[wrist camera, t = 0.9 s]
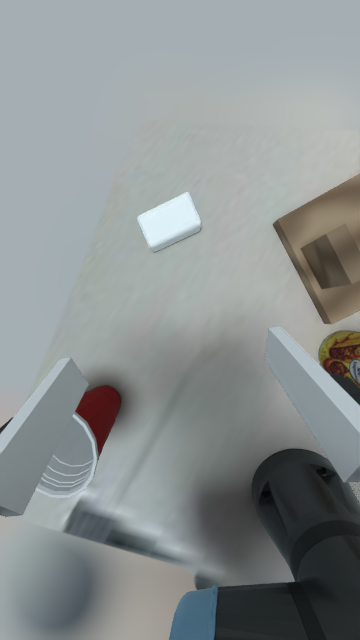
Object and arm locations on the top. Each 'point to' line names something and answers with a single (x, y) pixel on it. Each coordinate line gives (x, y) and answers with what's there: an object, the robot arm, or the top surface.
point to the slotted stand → (327, 249)
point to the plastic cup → (81, 444)
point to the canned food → (342, 355)
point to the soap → (170, 222)
